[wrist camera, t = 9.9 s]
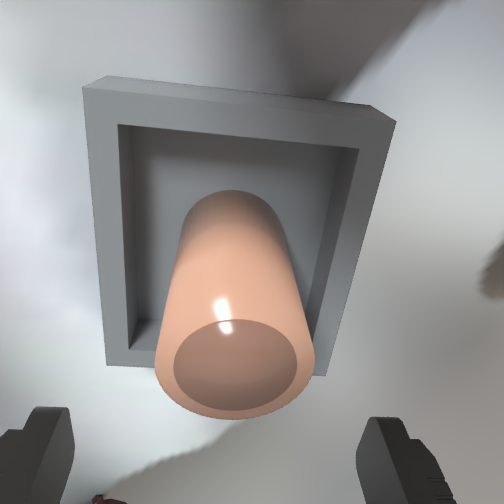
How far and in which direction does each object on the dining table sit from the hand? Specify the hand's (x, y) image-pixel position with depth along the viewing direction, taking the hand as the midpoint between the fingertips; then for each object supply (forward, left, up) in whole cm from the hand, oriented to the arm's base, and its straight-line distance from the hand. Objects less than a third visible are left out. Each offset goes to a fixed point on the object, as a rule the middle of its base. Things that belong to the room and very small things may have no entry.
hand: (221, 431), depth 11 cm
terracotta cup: (0, 0, -12) cm, 12 cm away
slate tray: (0, 0, -13) cm, 13 cm away
